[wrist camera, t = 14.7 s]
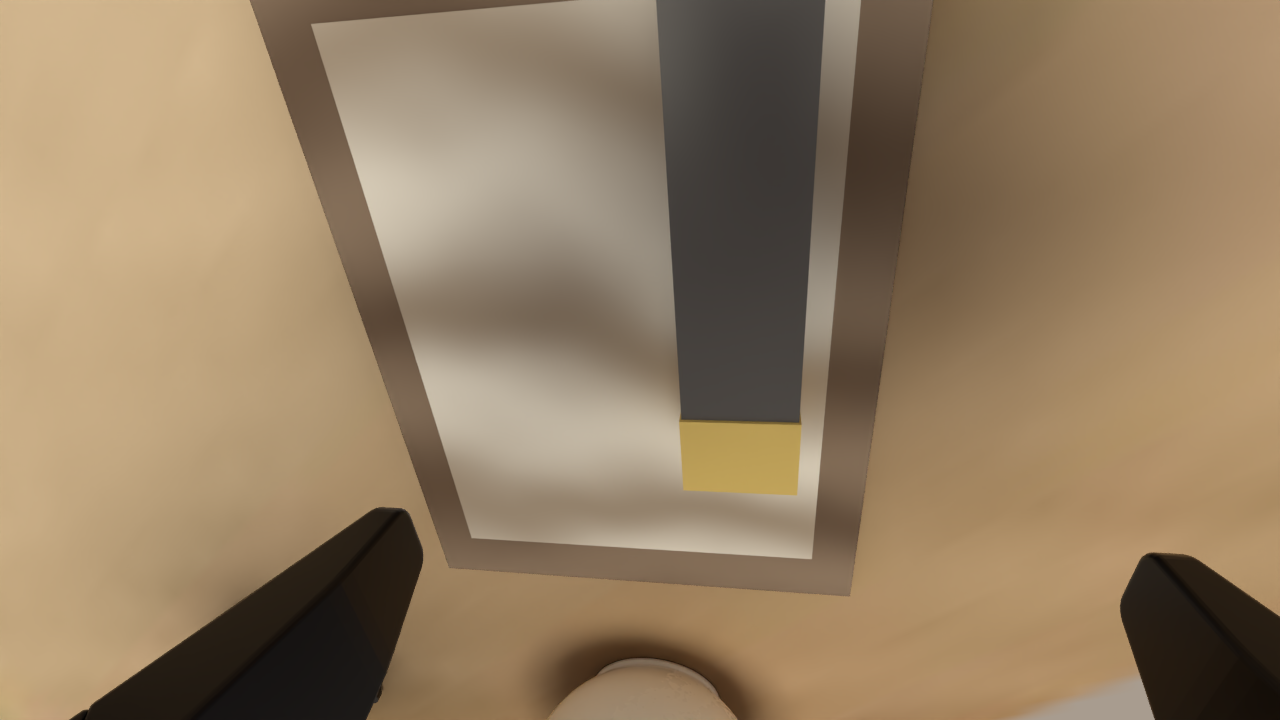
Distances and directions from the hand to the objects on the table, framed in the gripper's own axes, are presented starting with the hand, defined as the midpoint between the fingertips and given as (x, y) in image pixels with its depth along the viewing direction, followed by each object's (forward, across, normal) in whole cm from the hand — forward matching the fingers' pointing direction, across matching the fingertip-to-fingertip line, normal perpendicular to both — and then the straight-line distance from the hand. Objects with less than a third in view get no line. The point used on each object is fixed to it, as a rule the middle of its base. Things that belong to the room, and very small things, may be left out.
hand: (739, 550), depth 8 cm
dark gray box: (+11, 0, 0) cm, 11 cm away
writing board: (+11, +4, +3) cm, 12 cm away
